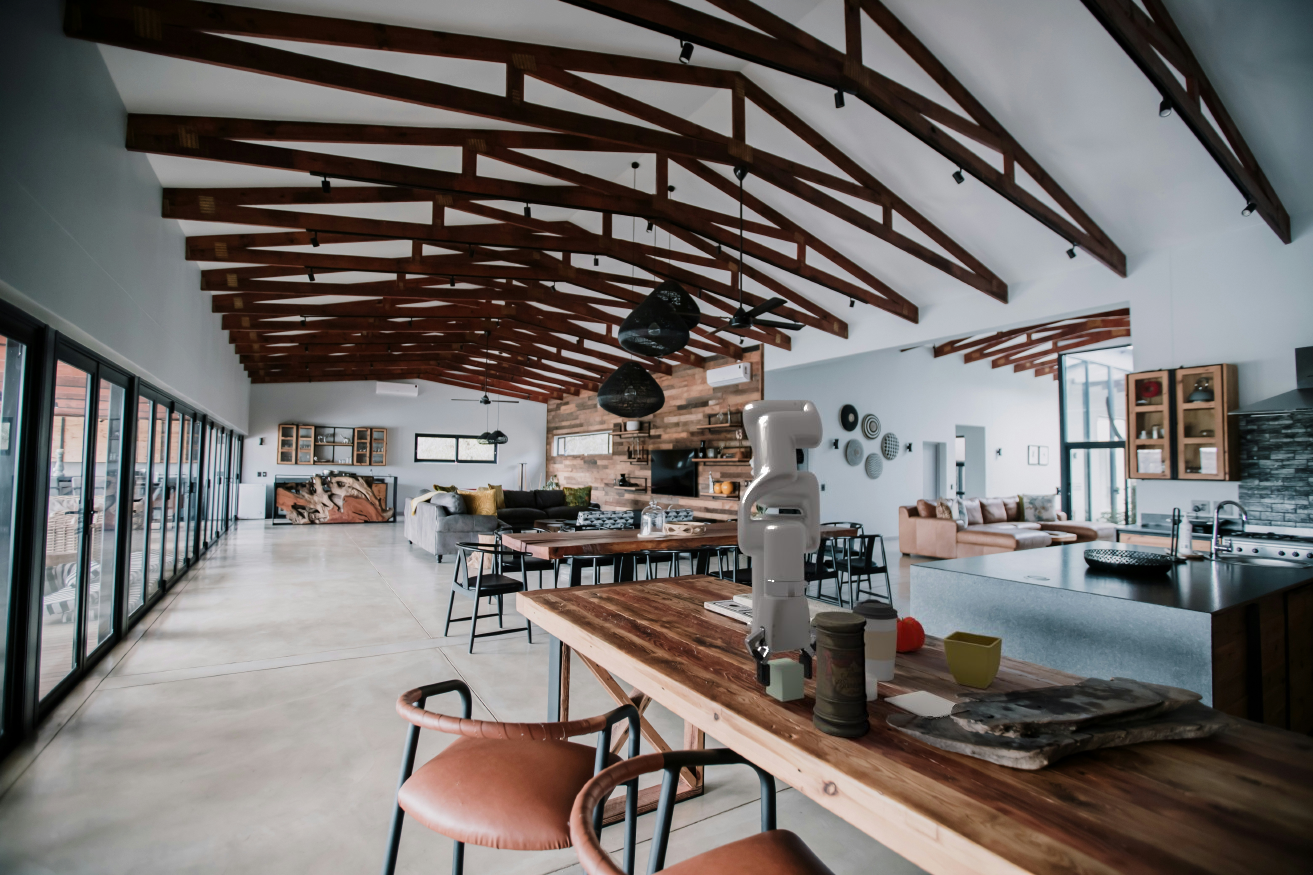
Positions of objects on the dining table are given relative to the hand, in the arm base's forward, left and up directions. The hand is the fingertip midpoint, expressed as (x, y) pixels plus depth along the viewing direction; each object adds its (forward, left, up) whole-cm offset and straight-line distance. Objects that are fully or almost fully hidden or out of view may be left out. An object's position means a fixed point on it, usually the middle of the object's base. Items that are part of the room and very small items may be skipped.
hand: (785, 680), depth 115 cm
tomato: (-12, +44, -3) cm, 46 cm away
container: (+15, 0, -3) cm, 15 cm away
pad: (+15, +20, -3) cm, 25 cm away
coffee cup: (-1, +24, -3) cm, 24 cm away
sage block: (0, 0, -3) cm, 3 cm away
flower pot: (+11, +38, -3) cm, 40 cm away
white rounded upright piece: (+6, +13, -3) cm, 15 cm away
